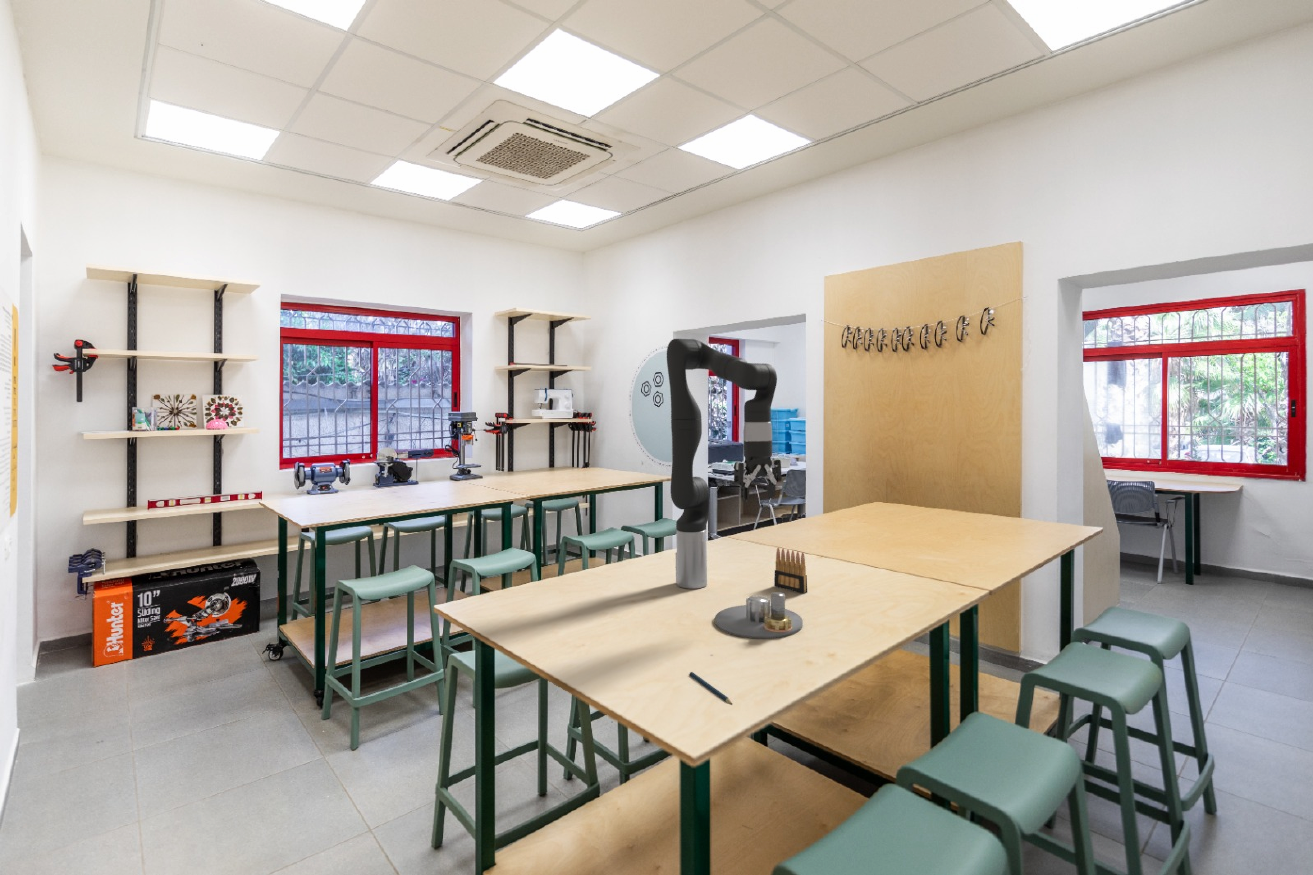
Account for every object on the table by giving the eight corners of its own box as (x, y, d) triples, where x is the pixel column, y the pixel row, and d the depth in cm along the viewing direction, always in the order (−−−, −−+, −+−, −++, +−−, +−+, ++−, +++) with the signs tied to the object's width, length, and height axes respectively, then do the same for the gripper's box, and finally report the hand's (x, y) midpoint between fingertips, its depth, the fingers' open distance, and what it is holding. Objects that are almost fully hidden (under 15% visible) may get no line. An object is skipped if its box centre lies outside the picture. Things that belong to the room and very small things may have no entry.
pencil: (693, 675, 132) (734, 705, 119) (689, 676, 131) (730, 707, 118) (693, 671, 132) (734, 701, 118) (689, 672, 131) (730, 702, 118)
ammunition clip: (807, 592, 186) (807, 552, 185) (803, 593, 184) (803, 553, 184) (777, 585, 194) (777, 546, 193) (774, 586, 192) (773, 547, 192)
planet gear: (759, 624, 156) (759, 593, 156) (779, 620, 159) (779, 588, 159) (776, 633, 150) (776, 599, 150) (797, 627, 154) (796, 595, 153)
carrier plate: (698, 618, 165) (698, 595, 165) (764, 603, 176) (764, 582, 176) (751, 645, 146) (751, 620, 146) (821, 627, 157) (821, 603, 157)
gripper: (769, 437, 175) (769, 495, 175) (727, 439, 167) (728, 500, 168) (787, 438, 168) (788, 499, 169) (745, 440, 161) (745, 504, 162)
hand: (758, 499), depth 169 cm, fingers open, 8 cm apart
